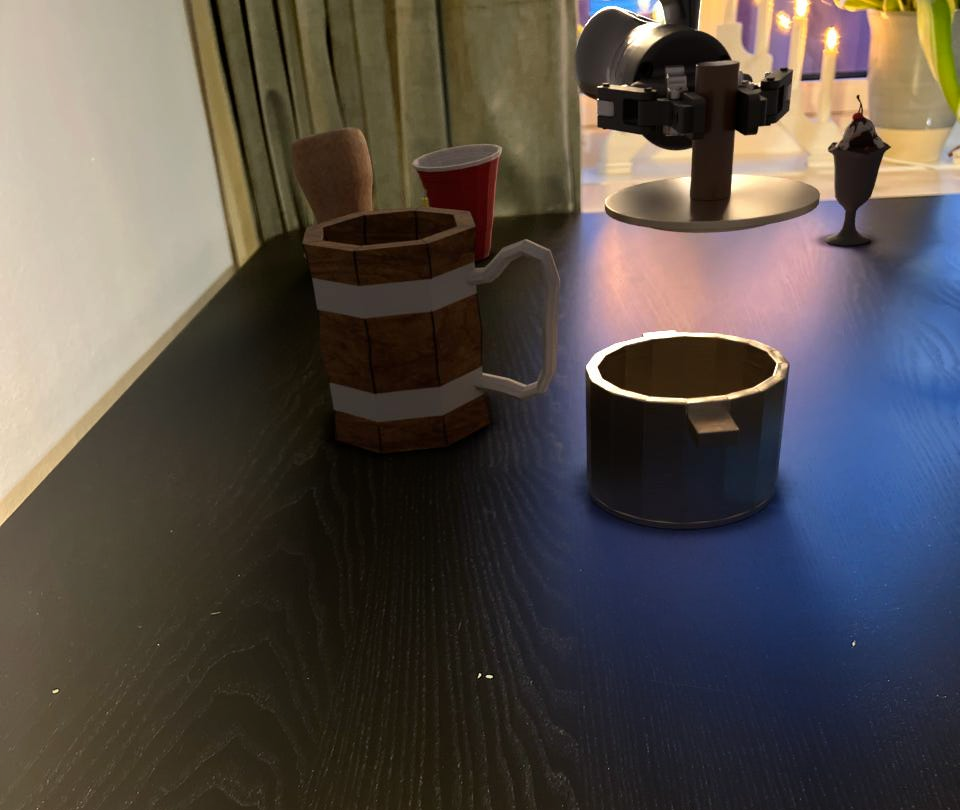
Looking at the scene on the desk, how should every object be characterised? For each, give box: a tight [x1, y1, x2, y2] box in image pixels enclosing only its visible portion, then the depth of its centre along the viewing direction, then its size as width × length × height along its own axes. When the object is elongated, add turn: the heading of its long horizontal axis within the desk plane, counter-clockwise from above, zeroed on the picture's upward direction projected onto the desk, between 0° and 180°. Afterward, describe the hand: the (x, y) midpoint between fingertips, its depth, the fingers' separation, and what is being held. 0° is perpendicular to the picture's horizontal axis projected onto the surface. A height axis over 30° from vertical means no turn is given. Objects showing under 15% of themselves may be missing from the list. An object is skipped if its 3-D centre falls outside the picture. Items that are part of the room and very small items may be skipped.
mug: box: [301, 205, 561, 454], centre depth 76 cm, size 20×14×15 cm
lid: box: [604, 59, 821, 234], centre depth 62 cm, size 14×14×9 cm
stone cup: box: [289, 127, 374, 260], centre depth 123 cm, size 15×12×15 cm
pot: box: [584, 330, 790, 530], centre depth 65 cm, size 13×18×8 cm
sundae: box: [824, 94, 892, 247], centre depth 111 cm, size 7×7×15 cm
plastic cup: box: [411, 143, 503, 262], centre depth 119 cm, size 11×11×12 cm
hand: (726, 117), depth 58 cm, fingers closed on lid, 2 cm apart
